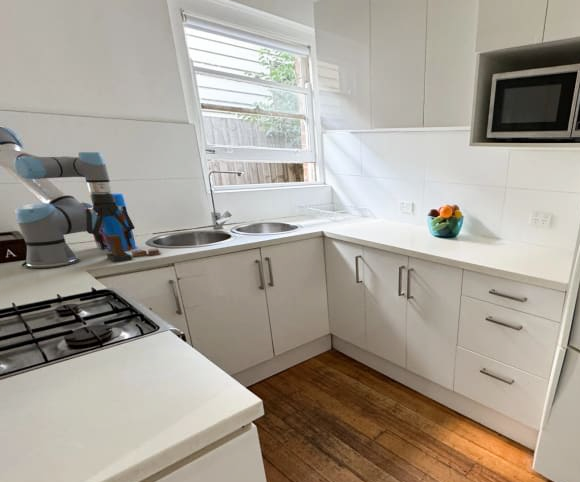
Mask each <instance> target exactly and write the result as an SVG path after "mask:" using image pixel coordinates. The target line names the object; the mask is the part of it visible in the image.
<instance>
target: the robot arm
mask: <svg viewBox="0 0 580 482" xmlns="http://www.w3.org/2000/svg"><path fill="white" fill-rule="evenodd" d="M0 167H2V168H4V169H5V170H6V171H7V172H8V173H9V174H10V175H11V176H13V178H15V179H16V180H17V181H18V182H19V183H20V184H21V185H22V186H24V188H25V189H26V190H28V191H29V192H30V193H31V194H32V196H34V197H35V198H36V199H38V200H39V203H32V204H27V205H22V206H19V207H17V208H15V211H14V215H15V218H16V222H17V223H18V226H19V229H20V232H21V234H22V238H23V240H24V242H25V245H26V260H25V261H24V262H23V263H22V264H21V266H22V267H25V266H27V267H28V268H29V269H52V268H60V267H64V266H65V267H66V266H69V265H72V264H75V263H77V262H79V261H78V257H77V255H76V254H75V253H74V251H73V250H72V249H75V248H74V247H73V248H72V249H71V248H70V246H69V245H68V244H67V243H66V239H65V236H66V235H70V234H71V235H72V234H77V233H85V232H86V233H88V234H90V235H93V234H94V235H93V238H94V237H95V239H94V241H95V240H96V242H99V243H100V247H101V248H100V250H102V251H106V249H105V247H104V243H103V240H102V236H101V234H98V233H99V230H100V226H101V222H102V219H103V217H107V216H113V217H114V218H115V219H116V220H117V221H118V222H119V223H120V224H121V226H122V227H123V228H124V229H125V230H126V231H124V235H125V239H126V243H127V246H129V247H132V246H131V243H130V238H132V236H131V232H130V231H131V230H132V231H133V230H135V226H134V223H133V222H132V220H131V217H130V216H129V214H127V213H128V210H127V211H126V209H127V206H126V207H125V206H117V205H116V203H115V199H114V195H113V194H112V193H113V188H112V185H111V181H110V177H109V173H108V169H107V163H106V161H105V159H104V155H103V154H102V153H101V152H99V151H98V152H95V151H80V152H78V156H37V155H33V154H30V153H28V152H24V145H23V142H21V138H20V137H19V135H18V134H17V133H16V132H15V131H14V130H12V129H10V128H8V127H6V126H2V125H0ZM59 178H61V179H62V178H63V179H64V178H85V182H86V186H87V189H88V192H89V193H90V194H89V197H90V200H91V203H92V205H91V204H90V203H89V202H84V201H82V202H80V201H79V200H77V198H76V197H74V196H73V195H70V194H66V193H64V191H63V190H62V189H61V188H60V187H58V186H57V185H56V184H55V183H54V182H53V180H51V179H59ZM118 209H119V210H120V211H121V212H122V214H123V216H124V218H125V220H126V222H127V224H128V226H129V227H128V226H127V225H126V224H125V223H124V222H123V221H122V219H121V218H120V217H119V216H118V215H117V213H116V211H117V210H118ZM92 229H94V230H93V231H92ZM96 242H95V243H96Z"/></svg>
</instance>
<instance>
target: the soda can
mask: <svg viewBox="0 0 580 482" xmlns="http://www.w3.org/2000/svg"><path fill="white" fill-rule="evenodd" d="M93 230H94V229H92V231H93ZM98 234H101V236H102V240H103V243H104V247H105V250H106V249H109V248H108V246H107V243H106V239H105V236H104V233H103V229H102V226H100V230H99V233H98ZM92 235H93V238H94V241H95V244H96V247H97V248H98V249H101V247H100V243H99V242H96V240H95V237H94V234H92Z"/></svg>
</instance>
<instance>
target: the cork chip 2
mask: <svg viewBox="0 0 580 482" xmlns="http://www.w3.org/2000/svg"><path fill="white" fill-rule="evenodd" d="M147 252H148V253H147V254H148V255H149V256H158V255H160V254H161V253H160V250H159V248H150V249H147Z"/></svg>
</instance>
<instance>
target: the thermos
mask: <svg viewBox="0 0 580 482" xmlns="http://www.w3.org/2000/svg"><path fill="white" fill-rule="evenodd" d="M111 193H112V194H113V195H114V199H115V203H116V205H117V206H125V207H126V211H127V214H128V209H127V206H126V202H125V198H124V195H123V193H115V192H114V193H113V192H111ZM116 213H117V215H118V216H119V217H120V218H121V219H122V221H123V222H124V223H125V224H126V225H127V226H128V224H127V222H126V220H125V218H124V216H123V214H122V212H121V211H120V210H119V209H118V210H117V211H116ZM128 215H129V214H128ZM101 226H102V229H103V233H104V236H105V239H106V243H107V246H108V248H107V249H108V251H109V252H111V250H110V246H109V243H108V239H107V235H114V234H115V235H117V236H120V237H121V241H122V245H123V248H124V252H127V251H134V250H136V249H137V245H136V240H135V237H134V233H133V229H132V230H131V231H130V232H131V236H132V238H130V243H131V246H132V247H129V246H127V243H126V239H125V235H124V231H126V230H125V229H124V228H123V227H122V226H121V224H120V223H119V222H118V221H117V220H116V219H115V218H114V217H113V216H107V217H103V219H102V222H101ZM128 227H129V226H128Z"/></svg>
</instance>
